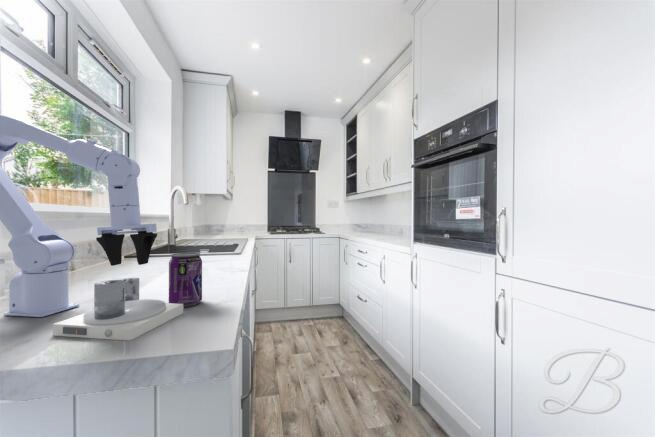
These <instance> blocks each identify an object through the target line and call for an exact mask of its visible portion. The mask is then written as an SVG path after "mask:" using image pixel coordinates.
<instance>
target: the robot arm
mask: <svg viewBox="0 0 655 437" xmlns="http://www.w3.org/2000/svg"><path fill="white" fill-rule="evenodd" d="M31 142H32V143H34V144H37V145H40V146H43V147H46V148H48V149H51V150H53V151H57V152H59V153H62V154H65V156H66V158H67V159H68V160H69V162H70V163H72V164H75V165H78V166H80V167H83V168H86V169H89V170H91V171H94V172H96V173H99V174H104V175H105V176H106V178H107V188H108V202H109V214H110V215H109V216H110V226H100V227H99V226H97V228H96V230H97V237H95V238H96V242H98V243H99V245H100V247H102V249H103V250H104V252H105V255H106V257H107V259H108V262H109V264H110V266H111V267H112V266H113V267H114V266H118V265H121V264H122V260H123V257H122V249H123V248H122V247H123V244H124V243H123V242H124V240H125V239H124V238H125V236H126V235H128V234H129V237H130V239H131V241H132V243H133V247H134V249H135V255H136V261H137V262H136V263H137V264H138V265H139V266H141V265H146V264H148V263H149V260H150V256H151V255H150V254H151V251H152V247H153V245H154V243H155V240H156V239H157V237H158V233H157V229H158V228H157V223H142V222H141V221H142V220H141V211H140V210H141V209H140V206H141V205H140V199H139V198H140V196H139V187H138V177H139V175H140V173H141V168H140V165H139V164H138V162H137V161H135V160H134V159H133V158H130V157H129V156H127V155H125V154H122V153H120V152H119V151H118V150H116V149H113V148H112V149H109V148H106V147H103V146H100V145H98V144H97V142H96V141H95V140H92V139H90V138H86V140H85V139H83V138H82V139H81V138H79V139H78V138H77V139H74V140H69V139H66V138H64V137H62V136H59V135H56V134H54V133H52V132H50V131H47V130H45V129H42V128H39V127H37V126H35V125H33V124H30V123H27V122H25V121H23V120H20V119H17V118H13V117H10V116H7V115H5V114H4V115H3V114H1V113H0V163H1V162H2V161H3V159H5V158H6V157H7V156H8V155H9V154H10V153H11V152H12V151H13V150H14V149H15V148H17V147H18V145H19V144H20V145H23V146H24V145H27V144H29V143H31ZM0 222H1V223H2V224H3V226H4V227H5V228H6V230H7V231H8V232H9V233H10V235H11V239H10V240H9V242H8V244H7V246H8V247H9V249H10V250H11V252H12V257H13V258H12V259H13V262H14V264H15V266H16V267H17V268H18V269H20V270H21V271H20V272H18V273H16V274H15V275H14V276H13V277H12V279H11V280H10V281H9V286H8V292H9V293H8V311H5V312H4V313H3V315H4V316H14V317H15V316H16V317H34V318H42V317H46V316H49V315H53V314H56V313H60V312H63V311H66V310H70V309H73V308H76V307H79V306H80V303H76V302H75V303H72V302H71V303H70V302H69V300H70V299H69V294H70V293H69V292H70V291H69V289H70V288H69V287H70V285H69V284H70V283H69V278H70V277H69V272H70V271H69V269H70V268H69V267H70V266H69V262H71V261H72V260H73V259H74V257H75V256H76V255H75V254H76V249H75V248H76V247H75V246H74V244H73V243H72V242H71V241H69V240H68V239H67V238H63V237H62V236H61V235H60V233H59V232H58V231H56V230H55V229H53V228H51V227H49V226H48V225H46V224H45V223H44V221H43V220H42V219H41V218H40V216H39V215H38V214H37V212H36V211H35V209H34V208H33V206H32V205H31V204H30V202H28V200H27V199H26V198H25V196H24V195H23V194H22V192H21V191H20V189H19V188H18V187H17V185H16V184H15V182H14V181H13V180H12V179H11V177H10V176H9V175H8V173H7V172H6V171H5V169H4V168H3V167H2V165H1V164H0ZM125 230H126V231H125ZM127 230H128V231H127ZM125 234H126V235H125Z"/></svg>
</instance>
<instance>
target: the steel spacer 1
mask: <svg viewBox="0 0 655 437" xmlns="http://www.w3.org/2000/svg"><path fill="white" fill-rule="evenodd" d="M93 290H94V294H93V297H94V306H93V307H94V308H93V309H94V319H97V320H105V319H112V318H116V317H120V316H122V315H124V314H125V280H119V279H112V280H111V279H110V280H109V279H108V280H104V281H98V282H95V283H94V289H93Z"/></svg>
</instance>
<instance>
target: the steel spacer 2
mask: <svg viewBox="0 0 655 437" xmlns="http://www.w3.org/2000/svg"><path fill="white" fill-rule="evenodd" d="M118 280H125V301H131V300H140V277H126V278H119V279H118Z"/></svg>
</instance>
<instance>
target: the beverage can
mask: <svg viewBox="0 0 655 437" xmlns="http://www.w3.org/2000/svg"><path fill="white" fill-rule="evenodd" d="M200 255H201V253H200V252H192V251H191V252H178V253H177V252H175V253H171V255H170V256H171V258H170V260H169V262H168V303H175V304H183V308H188V307H192V306H195V305H197V304H198V303H199V302H202V300H203V260H202V258H201V256H200Z"/></svg>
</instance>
